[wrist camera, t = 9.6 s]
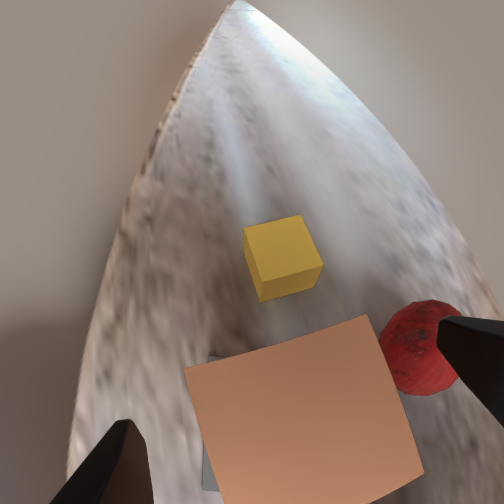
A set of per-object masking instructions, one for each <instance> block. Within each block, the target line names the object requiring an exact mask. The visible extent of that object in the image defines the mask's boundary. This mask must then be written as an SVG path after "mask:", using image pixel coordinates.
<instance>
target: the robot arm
mask: <svg viewBox="0 0 504 504" xmlns="http://www.w3.org/2000/svg"><path fill="white" fill-rule="evenodd" d="M436 345H437V348H438V349H439V351H440V352H441V353H442V355H443V356H444V357H445V359H446V360H447V361H448V363H449V364H450V365H451V367H452V368H453V369H454V371H455V372H456V373H457V375H458V376H459V377H460V379H461V380H462V381H463V382H464V383H465V385H466V386H467V387H468V388H469V389H470V390H471V391H472V392H473V393H474V395H475V396H476V397H477V398H478V399H479V400H480V401H481V402H482V403H483V405H484V406H485V407H486V408H487V409H488V410H489V411H490V413H491V414H492V415H493V416H494V417H495V418H496V419H497V421H498V422H499V423H500V424H501V425H502V426H503V428H504V321H498V320H489V319H481V318H472V317H464V316H456V315H448V316H446V317H444V318H442V319H441V320H440V321H439V323H438V331H437V339H436ZM50 504H154V500H153V490H152V483H151V476H150V470H149V463H148V455H147V447H146V443H145V440H144V438H143V437H142V435H141V433H140V432H139V430H138V428H137V427H136V425H135V423H134V422H133V421H132V420H131V419H124V420H118V421H116V422H115V423H114V424H113V425H112V426H111V428H110V429H109V430H108V431H107V433H106V434H105V435H104V436H103V437H102V439H101V440H100V441H99V442H98V444H97V445H96V446H95V447H94V449H93V450H92V451H91V452H90V454H89V455H88V456H87V457H86V459H85V460H84V461H83V462H82V464H81V465H80V466H79V467H78V468H77V470H76V471H75V472H74V473H73V475H72V476H71V477H70V478H69V480H68V481H67V482H66V483H65V485H64V486H63V487H62V488H61V490H60V491H59V492H58V493H57V495H56V496H55V497H54V498H53V499H52V501H51V502H50Z"/></svg>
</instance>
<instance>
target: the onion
mask: <svg viewBox="0 0 504 504" xmlns="http://www.w3.org/2000/svg"><path fill="white" fill-rule="evenodd" d="M448 315H456V316H462V315H461V313H460V312H459V311H457V310H456V309H455V308H454V307H452V306H451V305H449V304H447V303H444V302H440V301H437V300H427V301H420V302H413V303H411V304H409V305H408V306H406V307H405V308H403V309H402V310H400V311H399V312H397V313H395V314H394V315H393V317H392V318H391V320H390V321H389V322H388V324H387V325H386V327H385V328H384V330H383V331H382V333H381V334H380V339H379V345H380V347H381V350H382V352H383V355H384V357H385V360H386V362H387V365H388V368H389V370H390V373H391V375H392V378H393V381H394V383H395V386H396V388H397V389H399V390H400V391H402V392H404V393H405V394H409V395H420V396H428V395H431V394H434V393H437V392H440V391H442V390H445V389H447V388H449V387H450V386H451V385H452V384H453V383H454V382H455V381H456V379H457V378H458V377H459V376H458V375H457V373H456V372H455V371H454V369H453V368H452V367H451V365H450V364H449V363H448V361H447V360H446V359H445V357H444V356H443V355H442V353H441V352H440V351H439V349H438V348H437V345H436V339H437V331H438V323H439V321H440V320H441V319H442V318H444V317H446V316H448Z"/></svg>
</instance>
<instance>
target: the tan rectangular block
mask: <svg viewBox="0 0 504 504" xmlns="http://www.w3.org/2000/svg"><path fill="white" fill-rule="evenodd" d="M184 372H185V376H186V380H187V384H188V388H189V392H190V395H191V399H192V403H193V406H194V410H195V414H196V417H197V421H198V424H199V428H200V431H201V434H202V438H203V441H204V444H205V447H206V451H207V454H208V457H209V460H210V463H211V466H212V469H213V472H214V475H215V478H216V481H217V484H218V487H219V490H220V492H221V495H222V498H223V501H224V503H225V504H369V503H371V502H373V501H375V500H377V499H379V498H381V497H383V496H385V495H387V494H389V493H391V492H393V491H395V490H397V489H398V488H400V487H402V486H404V485H406V484H407V483H409V482H411V481H412V480H414V479H416V478H418V477H419V476H421V475H422V474H424V470H423V466H422V463H421V460H420V456H419V453H418V450H417V447H416V444H415V441H414V437H413V434H412V431H411V428H410V425H409V422H408V419H407V417H406V414H405V411H404V408H403V405H402V402H401V400H400V397H399V394H398V391H397V389H396V386H395V383H394V381H393V378H392V375H391V373H390V370H389V368H388V365H387V362H386V360H385V357H384V355H383V352H382V350H381V347H380V345H379V342H378V340H377V338H376V335H375V333H374V330H373V328H372V326H371V323H370V321H369V318H368V316H367V314H364V315H361V316H358V317H356V318H353V319H350V320H347V321H345V322H342V323H339V324H336V325H333V326H330V327H328V328H325V329H322V330H319V331H316V332H313V333H310V334H307V335H304V336H300V337H297V338H294V339H291V340H288V341H284V342H281V343H278V344H275V345H271V346H268V347H264V348H261V349H258V350H254V351H250V352H247V353H243V354H240V355H236V356H232V357H228V358H225V359H221V360H217V361H213V362H209V363H205V364H201V365H196V366H192V367H188V368H184Z"/></svg>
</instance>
